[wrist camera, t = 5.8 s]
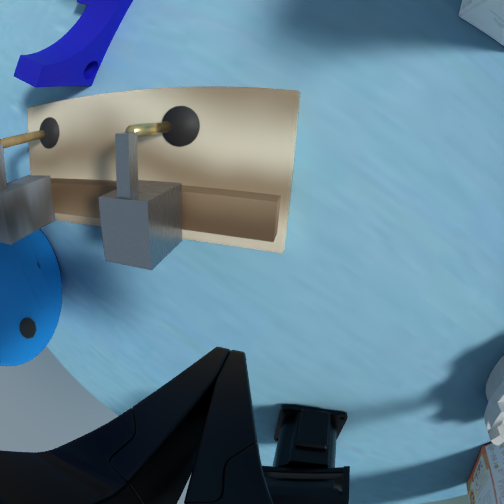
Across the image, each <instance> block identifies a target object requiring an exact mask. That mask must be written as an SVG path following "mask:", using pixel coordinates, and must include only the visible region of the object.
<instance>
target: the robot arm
mask: <svg viewBox="0 0 504 504" xmlns="http://www.w3.org/2000/svg"><path fill="white" fill-rule="evenodd" d="M346 420H347V413H345V412H337V411H327V410H319V409H311V408H304V407H297V406H290V405H283V406H281V410H280V414H279V418H278V423H277V427H276V431H275V435H274V440H275V441H278V443H277V448H276V452H275V457H274V462H273V467H272V466H262V465H261V460H260V455H259V448H258V444H257V435H256V428H255V421H254V414H253V407H252V400H251V393H250V386H249V378H248V371H247V364H246V356H245V353H244V352H241V351H236V350H231V351H230V350H229V349H226V348H222V347H216V348H214V349H213V350H212V351H210V352H209V353H208V354H206V355H205V356H203V357H202V358H201V359H199V360H198V361H197V362H195V363H194V364H193V365H191V366H190V367H189V368H187V369H186V370H184V371H183V372H182V373H180V374H179V375H178V376H176V377H175V378H173V379H172V380H171V381H169V382H168V383H166V384H165V385H164V386H162V387H161V388H159V389H158V390H156V391H155V392H154V393H152V394H151V395H149V396H148V397H146V398H145V399H144V400H142V401H141V402H139V403H138V404H136V405H135V406H133V409H132V408H130V409H129V410H127V411H126V412H124V413H123V414H121V415H120V416H118V417H117V418H115V419H114V420H112V421H110V422H109V423H107V424H105V425H103V426H101V427H100V428H98V429H96V430H94V431H92V432H90V433H88V434H86V435H84V436H82V437H80V438H77V439H75V440H73V441H71V442H69V443H67V444H65V445H62V446H60V447H58V448H55V449H53V450H49V451H45V452H38V453H30V452H11V451H0V504H177V502H178V500H179V498H180V496H181V494H182V492H183V490H184V488H185V485H186V483H187V481H188V479H189V477H190V475H191V478H190V482H189V486H188V489H187V493H186V497H185V501H184V503H185V504H348V501H349V473H350V466H344V467H341V468H335V454H336V440H337V438H338V436H339V434H340V432H341V430H342V428H343V426H344V424H345V422H346ZM191 473H192V474H191Z"/></svg>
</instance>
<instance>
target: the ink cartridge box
mask: <svg viewBox="0 0 504 504" xmlns="http://www.w3.org/2000/svg"><path fill="white" fill-rule="evenodd" d="M459 17H460V18H462V19H463V20H465V21H467V22H469V23H470V24H472V25H473V26H475V27H476V28H478V29H480V30H481V31H483V32H484V33H486V34H487V35H489V36H490V37H492V38H493V39H494V40H496V41H497V42H499V43H500V44H501V45H503V46H504V0H462V3H461V7H460V11H459Z"/></svg>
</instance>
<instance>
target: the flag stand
mask: <svg viewBox="0 0 504 504" xmlns="http://www.w3.org/2000/svg"><path fill="white" fill-rule="evenodd" d="M485 392H486V397H487V399H488V405H487V407H486V410H485V415H484V419H485V424H486V427H487V430H488V433H489V437H490V440H491V442H492V443H493V444H495V445H497V446H499V445H500V444H502V443H503V442H504V355H503V356H502V357H501V359H500V360H499V361H498V362H497V364H496V365H495V367H494V368H493V370H492V372H491V374H490V376H489V378H488V380H487V383H486V390H485Z"/></svg>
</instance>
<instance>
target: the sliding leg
mask: <svg viewBox="0 0 504 504" xmlns="http://www.w3.org/2000/svg"><path fill="white" fill-rule="evenodd" d="M171 129H172V124H171V123H170V122H169V121H163V122H153V123H144V124H135V125H129V126H128V127H127V128H126V130H125V132H122V133H116V134H115V154H116V182H117V189H116V190H113V191H111V192H109V193H107V194H104V195H102V196H100V197H98V198H99V210H100V220H101V229H102V237H103V245H104V253H105V260H106V261H109V262H114V263H119V264H124V265H129V266H134V267H139V268H144V269H149V270H153V269H154V268H155V267H156V266H157V265H158V264H159V263H160V262H161V261H162V260H163V259H164V258H165V257H166V256H167V255H168V254H169V253H170V252H171V251H172V250H173V249H174V248H175V247H176V246H177V245H178V244H179V243H180V242H181V241H182V183H175V182H162V181H148V180H138V137H144V136H149V135H155V134H161V133H167V132H170V131H171Z"/></svg>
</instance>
